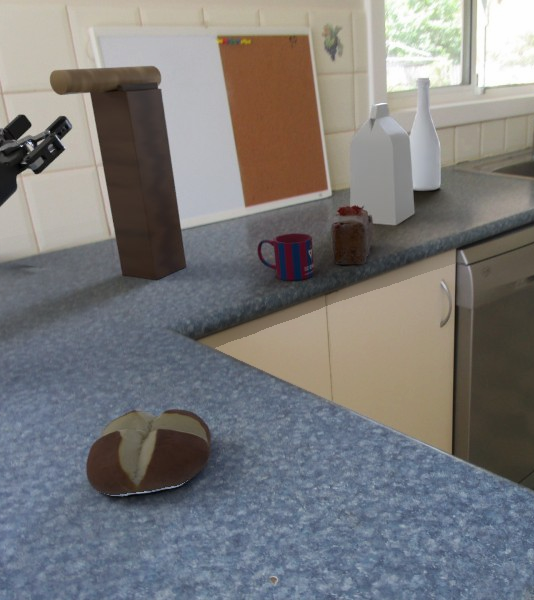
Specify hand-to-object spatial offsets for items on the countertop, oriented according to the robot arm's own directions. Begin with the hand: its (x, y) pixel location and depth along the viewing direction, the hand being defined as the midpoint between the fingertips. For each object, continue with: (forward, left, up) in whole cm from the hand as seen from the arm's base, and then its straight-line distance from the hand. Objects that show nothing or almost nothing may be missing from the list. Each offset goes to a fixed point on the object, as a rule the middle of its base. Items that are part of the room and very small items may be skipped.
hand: (46, 120), depth 98 cm
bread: (+5, -54, -29) cm, 62 cm away
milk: (+67, +27, -29) cm, 77 cm away
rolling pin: (+10, +9, +5) cm, 15 cm away
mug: (+34, -3, -29) cm, 44 cm away
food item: (+49, +2, -29) cm, 57 cm away
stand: (+13, +11, -29) cm, 33 cm away
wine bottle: (+92, +53, -29) cm, 109 cm away
